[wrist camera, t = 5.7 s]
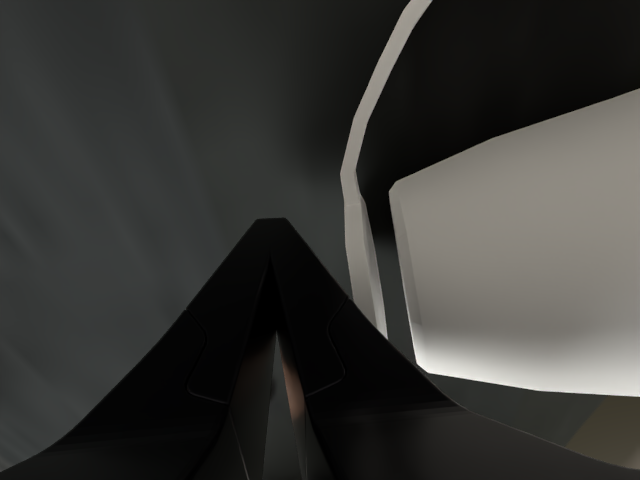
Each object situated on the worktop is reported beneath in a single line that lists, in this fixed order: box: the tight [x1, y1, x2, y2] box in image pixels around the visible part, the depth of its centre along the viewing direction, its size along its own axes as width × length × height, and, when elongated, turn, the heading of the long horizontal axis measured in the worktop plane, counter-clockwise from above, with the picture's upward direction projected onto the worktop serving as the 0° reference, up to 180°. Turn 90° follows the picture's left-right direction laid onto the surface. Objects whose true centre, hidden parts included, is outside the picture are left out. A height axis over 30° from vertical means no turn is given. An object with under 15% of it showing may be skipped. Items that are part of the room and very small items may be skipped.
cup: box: [340, 0, 640, 397], centre depth 8 cm, size 7×10×8 cm
